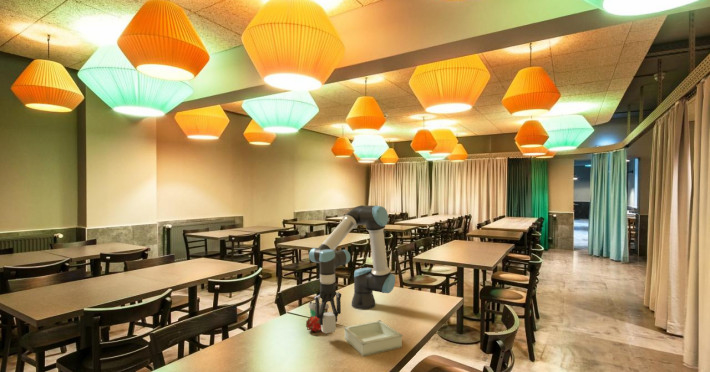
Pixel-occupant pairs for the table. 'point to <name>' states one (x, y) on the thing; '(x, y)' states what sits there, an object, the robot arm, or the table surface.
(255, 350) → the table surface
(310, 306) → the food container
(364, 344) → the bin
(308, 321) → the dragon fruit
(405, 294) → the table surface
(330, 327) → the stone block
